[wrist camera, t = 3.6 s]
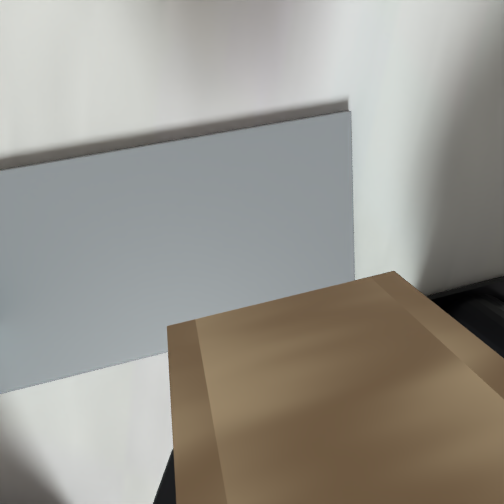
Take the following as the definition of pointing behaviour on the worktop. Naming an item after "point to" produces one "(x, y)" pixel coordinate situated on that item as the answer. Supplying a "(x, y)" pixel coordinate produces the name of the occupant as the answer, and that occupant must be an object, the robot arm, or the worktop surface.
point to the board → (166, 240)
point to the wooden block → (336, 402)
